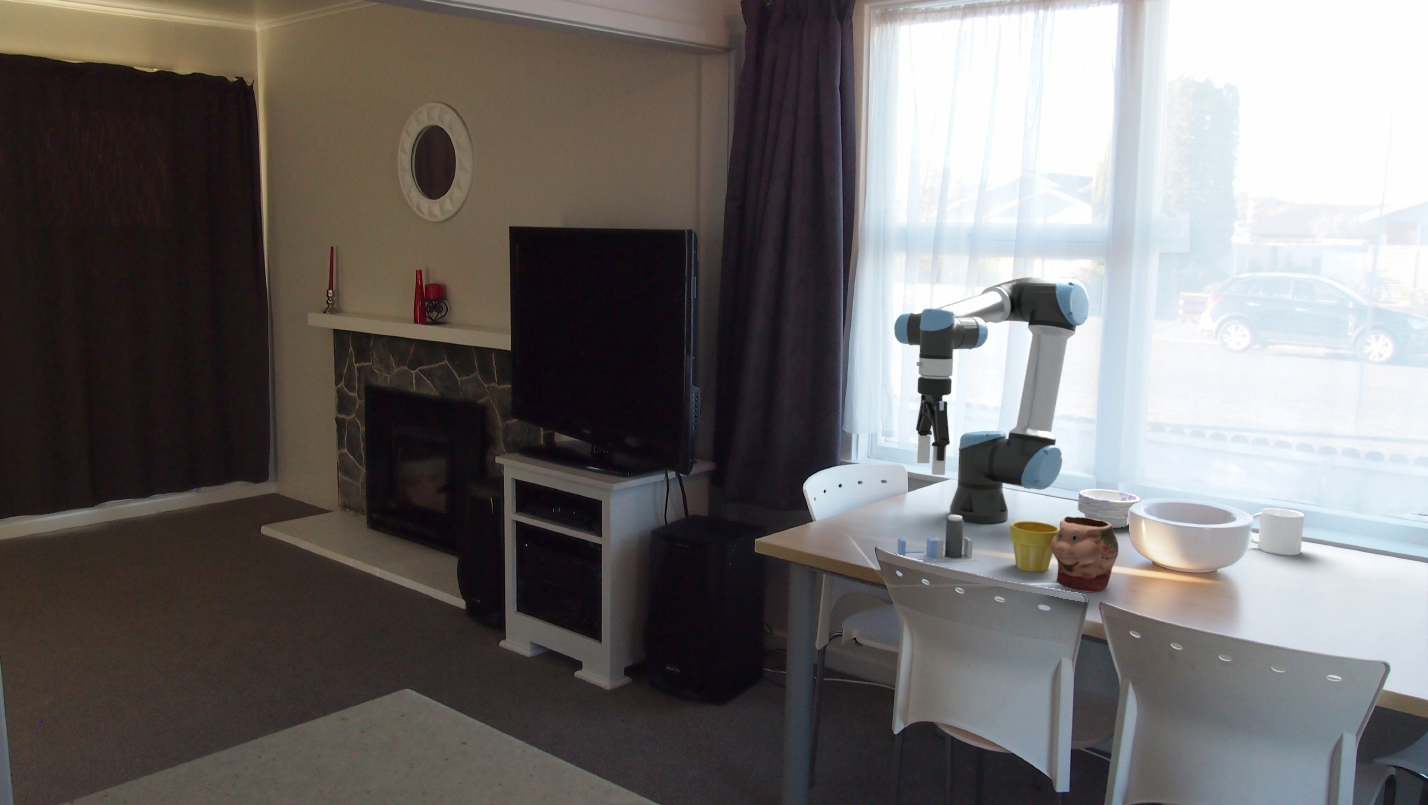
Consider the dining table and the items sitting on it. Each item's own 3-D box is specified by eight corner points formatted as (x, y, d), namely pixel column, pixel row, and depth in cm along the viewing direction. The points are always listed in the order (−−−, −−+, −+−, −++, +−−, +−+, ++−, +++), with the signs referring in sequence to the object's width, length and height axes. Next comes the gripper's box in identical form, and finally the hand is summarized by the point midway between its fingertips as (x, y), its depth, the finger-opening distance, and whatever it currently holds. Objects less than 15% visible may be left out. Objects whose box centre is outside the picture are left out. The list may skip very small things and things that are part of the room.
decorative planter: (1078, 568, 227) (1082, 507, 225) (1133, 581, 218) (1137, 517, 217) (1035, 587, 213) (1039, 522, 211) (1091, 601, 204) (1096, 534, 202)
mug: (1303, 549, 245) (1306, 512, 244) (1297, 558, 238) (1301, 519, 237) (1247, 541, 252) (1250, 504, 251) (1240, 549, 245) (1243, 511, 244)
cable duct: (965, 553, 238) (965, 534, 237) (976, 563, 230) (977, 543, 229) (893, 553, 236) (894, 534, 236) (902, 563, 228) (903, 544, 228)
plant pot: (1057, 565, 229) (1059, 523, 228) (1056, 578, 219) (1059, 534, 218) (1009, 560, 232) (1011, 518, 231) (1006, 573, 223) (1009, 529, 221)
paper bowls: (1151, 526, 265) (1153, 496, 264) (1115, 534, 257) (1117, 503, 256) (1100, 514, 278) (1102, 485, 277) (1064, 521, 269) (1066, 492, 268)
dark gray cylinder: (958, 553, 235) (960, 514, 234) (964, 558, 232) (966, 518, 230) (942, 553, 235) (944, 514, 234) (947, 558, 231) (949, 518, 230)
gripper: (905, 371, 244) (902, 458, 246) (932, 382, 219) (928, 479, 222) (936, 371, 244) (932, 458, 247) (967, 383, 219) (962, 479, 222)
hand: (930, 468), depth 234 cm, fingers open, 13 cm apart
